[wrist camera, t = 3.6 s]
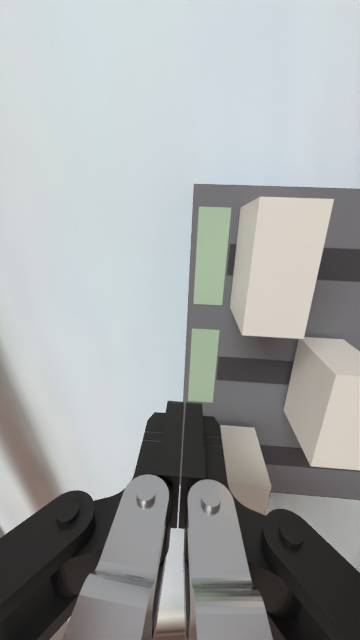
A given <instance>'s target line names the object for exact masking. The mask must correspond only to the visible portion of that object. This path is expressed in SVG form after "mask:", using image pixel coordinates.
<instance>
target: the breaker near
mask: <svg viewBox="0 0 360 640" xmlns="http://www.w3.org/2000/svg"><path fill="white" fill-rule="evenodd" d="M333 202H334V199H320V198H288V197H258V198H257V199H255V200H253V201H251V202H249V203H248V204H246V205H244V206H242V207H241V208H240V217H239V226H238V236H237V245H236V254H235V264H234V273H233V282H232V292H231V301H230V309H231V311H232V313H233V316H234V318H235V320H236V323H237V325H238V327H239V330H240V332H241V334H242V335H244V336H261V337H278V338H295V339H304V335H305V330H306V326H307V321H308V317H309V312H310V307H311V303H312V298H313V294H314V289H315V284H316V280H317V275H318V271H319V266H320V262H321V257H322V252H323V248H324V243H325V239H326V234H327V229H328V225H329V220H330V216H331V211H332V206H333Z"/></svg>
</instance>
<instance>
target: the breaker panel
mask: <svg viewBox="0 0 360 640" xmlns="http://www.w3.org/2000/svg"><path fill="white" fill-rule="evenodd" d="M258 197H288V198H320V199H334V202H333V206H332V211H331V216H330V220H329V225H328V229H327V234H326V239H325V243H324V248H323V252H322V257H321V262H320V266H319V271H318V275H317V280H316V284H315V289H314V294H313V298H312V303H311V307H310V312H309V317H308V321H307V326H306V330H305V335H304V337H313V338H330V339H343V340H345V341H346V342H348V343H349V344H350V345H352V346H353V347H354V348H356V349H357V350H358V351H360V189H347V188H314V187H281V186H248V185H214V184H194V194H193V214H192V234H191V254H190V275H189V295H188V315H187V335H186V355H185V375H184V396H183V402H184V415H183V432H182V448H181V464H180V481H179V484H181V475H182V457H183V439H184V422H185V405H186V402H191V403H202V409H203V416H213V417H215V419H216V420H217V422H218V423H219V425H228V426H241V427H254V428H255V431H256V435H257V438H258V441H259V445H260V448H261V452H262V455H263V459H264V462H265V465H266V469H267V472H268V476H269V479H270V483H271V491H270V492H275V493H286V494H298V495H309V496H320V497H332V498H343V499H354V500H360V470H349V469H337V468H325V467H313V466H310V464H309V462H308V460H307V458H306V456H305V454H304V452H303V450H302V447H301V445H300V443H299V441H298V439H297V437H296V435H295V433H294V431H293V429H292V427H291V425H290V423H289V421H288V418H287V416H286V414H285V412H284V406H285V401H286V396H287V392H288V387H289V382H290V377H291V373H292V368H293V363H294V358H295V354H296V349H297V344H298V339H295V338H278V337H261V336H244V335H242V334H241V332H240V330H239V327H238V325H237V323H236V320H235V318H234V316H233V313H232V311H231V309H230V301H231V292H232V282H233V273H234V264H235V254H236V245H237V236H238V226H239V217H240V208H241V207H242V206H244V205H246V204H248V203H249V202H251V201H253V200H255V199H257V198H258Z"/></svg>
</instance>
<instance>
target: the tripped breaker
mask: <svg viewBox="0 0 360 640" xmlns="http://www.w3.org/2000/svg"><path fill="white" fill-rule="evenodd" d="M284 412H285V414H286V416H287V418H288V421H289V423H290V425H291V427H292V429H293V431H294V433H295V435H296V437H297V439H298V441H299V443H300V445H301V447H302V450H303V452H304V454H305V456H306V458H307V460H308V462H309V464H310V466H313V467H325V468H337V469H349V470H360V351H358V350H357V349H356V348H354V347H353V346H352V345H350V344H349V343H348V342H346V341H345V340H343V339H330V338H313V337H304V339H298V344H297V349H296V354H295V358H294V363H293V368H292V373H291V377H290V382H289V387H288V392H287V396H286V401H285V406H284Z"/></svg>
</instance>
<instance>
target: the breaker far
mask: <svg viewBox="0 0 360 640" xmlns="http://www.w3.org/2000/svg"><path fill="white" fill-rule="evenodd" d="M220 428H221V436H222V437H221V438H222V444H223V451H224V459H225V466H226V474H227V482H228V486H229V489H230V491H231V493H232V494H233V496H234V497H235V498H236V499H237V500H238V501H239V502H240V503H241V504H242V505H244V506H245V507H247V508H249V509H251V510H254V511H256V512H258V513H261V514H263V515H265V514H266V509H267V505H268V500H269V495H270V491H271V483H270V479H269V476H268V472H267V469H266V465H265V462H264V459H263V455H262V452H261V448H260V445H259V441H258V438H257V435H256V431H255V428H254V427H241V426H228V425H220Z"/></svg>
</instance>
